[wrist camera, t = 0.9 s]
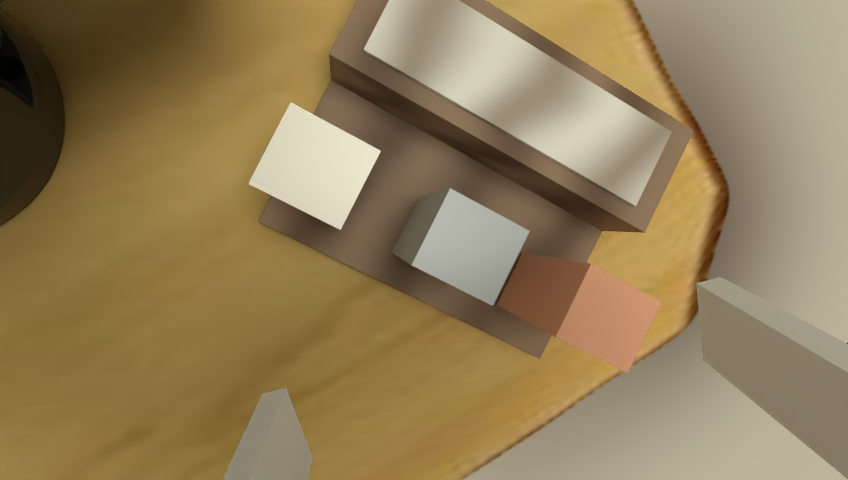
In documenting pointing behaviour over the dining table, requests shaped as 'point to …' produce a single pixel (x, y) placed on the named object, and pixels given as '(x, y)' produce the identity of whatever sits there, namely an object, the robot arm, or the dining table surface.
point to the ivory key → (314, 166)
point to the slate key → (461, 243)
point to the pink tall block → (581, 306)
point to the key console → (482, 144)
